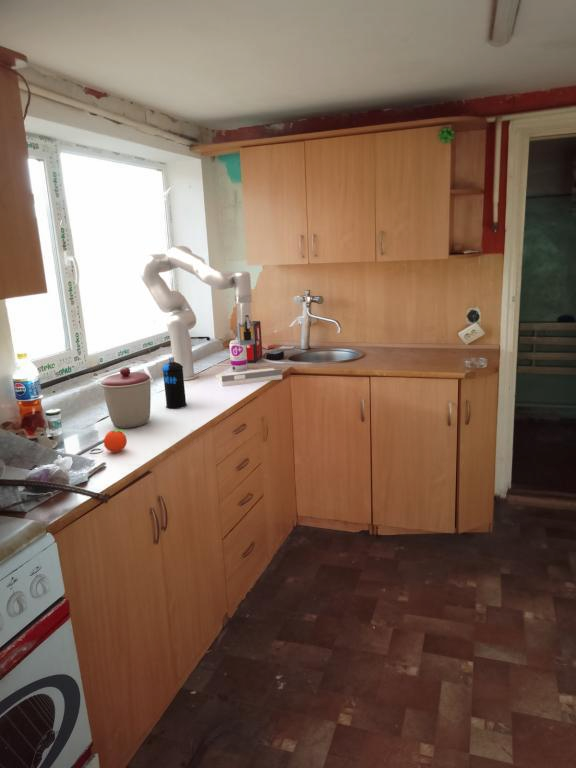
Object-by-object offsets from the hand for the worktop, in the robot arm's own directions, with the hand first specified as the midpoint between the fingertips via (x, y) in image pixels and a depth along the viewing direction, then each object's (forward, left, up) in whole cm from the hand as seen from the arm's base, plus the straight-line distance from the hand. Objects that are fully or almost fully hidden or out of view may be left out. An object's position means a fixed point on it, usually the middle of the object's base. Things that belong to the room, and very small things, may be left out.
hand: (246, 338), depth 261 cm
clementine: (-60, -75, -19) cm, 98 cm away
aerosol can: (-37, -31, -19) cm, 52 cm away
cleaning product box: (+11, +42, -19) cm, 47 cm away
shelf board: (0, 0, -19) cm, 19 cm away
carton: (0, 0, -2) cm, 2 cm away
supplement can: (0, +21, -19) cm, 28 cm away
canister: (-55, -47, -19) cm, 75 cm away
